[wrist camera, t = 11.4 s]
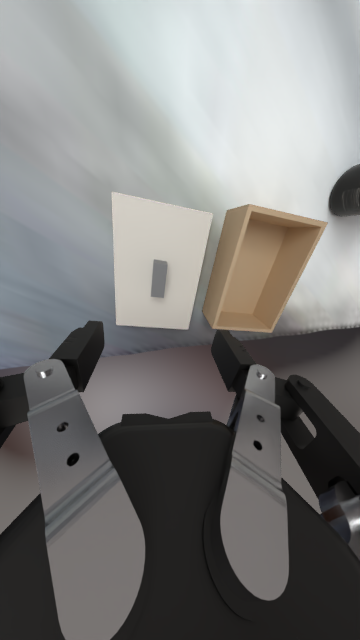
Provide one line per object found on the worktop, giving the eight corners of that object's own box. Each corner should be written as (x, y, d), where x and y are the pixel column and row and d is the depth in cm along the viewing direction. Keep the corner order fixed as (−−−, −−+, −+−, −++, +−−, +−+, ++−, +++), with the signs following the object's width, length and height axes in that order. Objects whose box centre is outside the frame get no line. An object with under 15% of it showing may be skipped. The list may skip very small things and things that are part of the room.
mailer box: (290, 224, 28) (327, 222, 22) (252, 315, 36) (271, 332, 30) (226, 210, 25) (249, 204, 19) (202, 311, 34) (212, 328, 28)
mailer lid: (206, 215, 25) (220, 211, 20) (185, 321, 35) (191, 338, 29) (117, 196, 23) (105, 185, 17) (119, 316, 32) (112, 334, 26)
